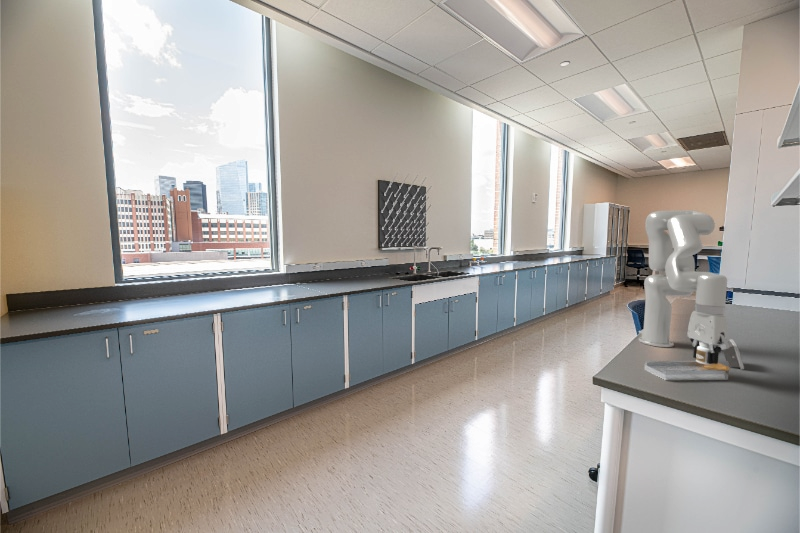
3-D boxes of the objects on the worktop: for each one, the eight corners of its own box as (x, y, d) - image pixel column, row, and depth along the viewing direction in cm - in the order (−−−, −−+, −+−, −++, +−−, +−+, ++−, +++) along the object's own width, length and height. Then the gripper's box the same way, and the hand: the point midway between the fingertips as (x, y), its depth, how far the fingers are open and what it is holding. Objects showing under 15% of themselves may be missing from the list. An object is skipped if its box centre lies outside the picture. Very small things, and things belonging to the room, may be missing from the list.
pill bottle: (692, 360, 117) (694, 339, 116) (705, 360, 116) (707, 339, 116) (702, 364, 112) (704, 343, 112) (716, 365, 112) (718, 343, 111)
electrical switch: (744, 370, 118) (743, 345, 118) (724, 368, 122) (723, 343, 121) (739, 363, 126) (738, 339, 125) (721, 361, 129) (719, 338, 129)
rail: (644, 369, 119) (645, 357, 118) (702, 369, 119) (703, 357, 119) (665, 380, 110) (666, 367, 109) (727, 379, 111) (729, 366, 110)
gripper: (677, 304, 121) (673, 352, 123) (723, 315, 104) (719, 370, 106) (696, 304, 121) (693, 352, 123) (746, 315, 105) (741, 370, 106)
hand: (705, 360), depth 114 cm, fingers closed on pill bottle, 4 cm apart
